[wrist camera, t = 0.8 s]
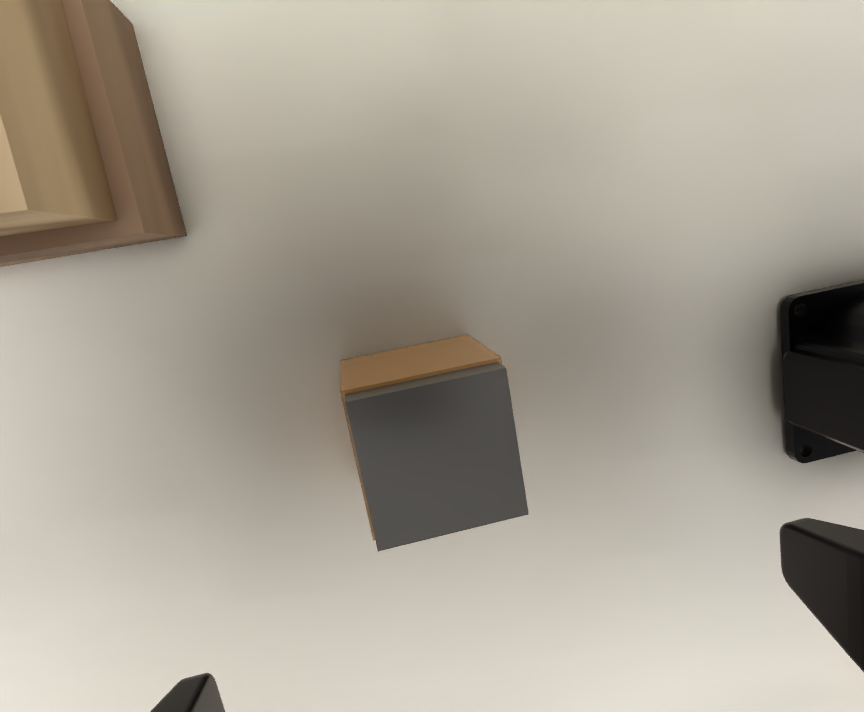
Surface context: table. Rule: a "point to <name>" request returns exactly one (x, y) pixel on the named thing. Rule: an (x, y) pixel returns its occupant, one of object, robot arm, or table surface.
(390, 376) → the grey-faced wooden cube
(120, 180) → the walnut block
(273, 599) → the table surface
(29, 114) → the oak block
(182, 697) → the robot arm
